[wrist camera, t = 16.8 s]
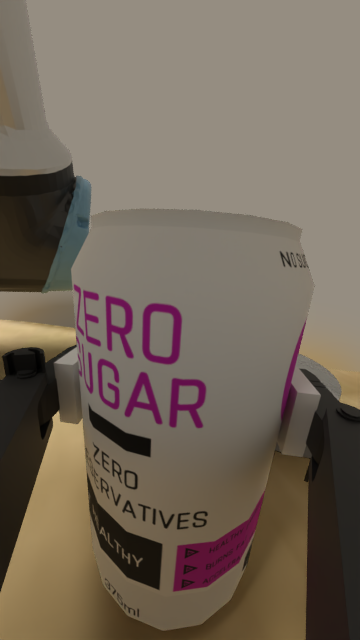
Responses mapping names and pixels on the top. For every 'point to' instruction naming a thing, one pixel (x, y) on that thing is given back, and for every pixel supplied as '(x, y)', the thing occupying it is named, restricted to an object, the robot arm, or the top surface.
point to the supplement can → (183, 396)
